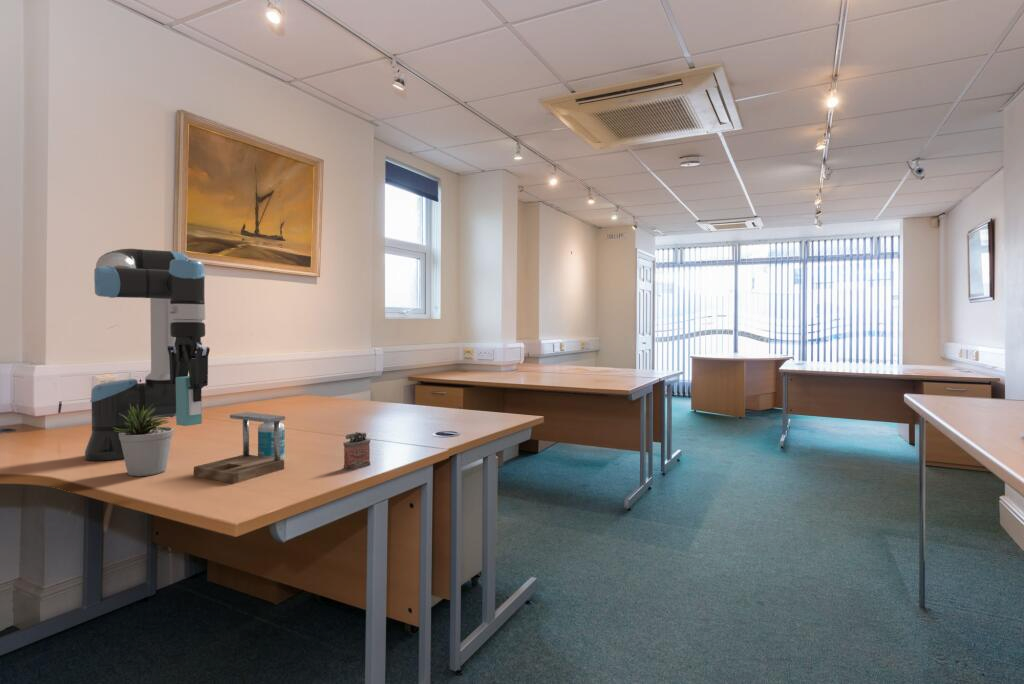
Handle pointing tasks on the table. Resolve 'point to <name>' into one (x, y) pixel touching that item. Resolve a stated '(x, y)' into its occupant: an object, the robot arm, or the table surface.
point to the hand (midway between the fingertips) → (189, 413)
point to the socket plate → (238, 468)
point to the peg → (185, 403)
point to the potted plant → (145, 443)
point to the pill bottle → (270, 440)
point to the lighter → (356, 451)
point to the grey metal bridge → (260, 418)
